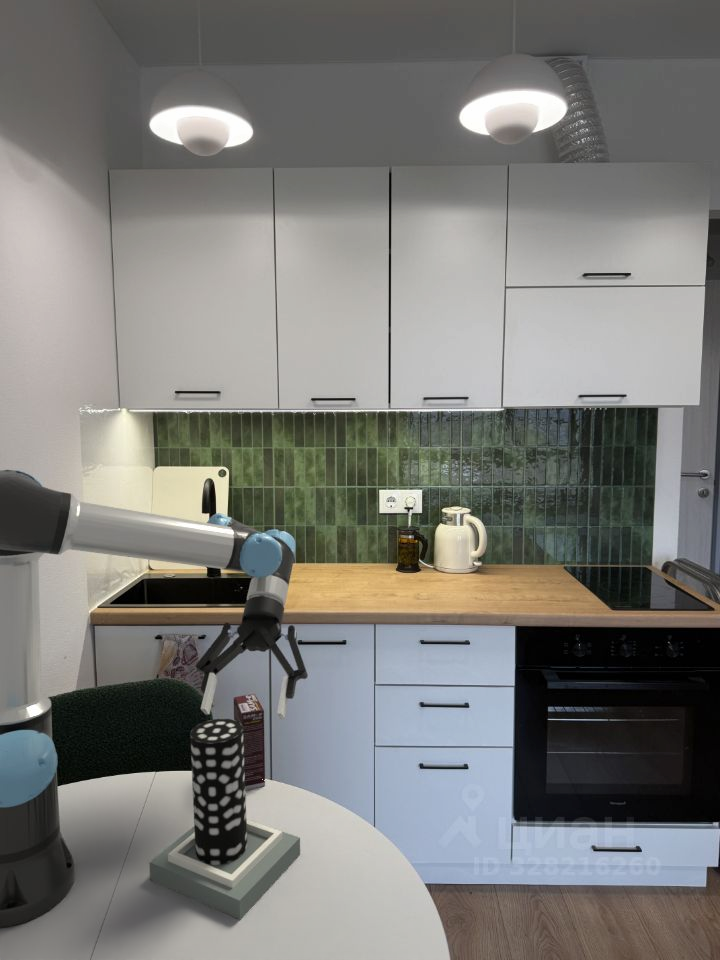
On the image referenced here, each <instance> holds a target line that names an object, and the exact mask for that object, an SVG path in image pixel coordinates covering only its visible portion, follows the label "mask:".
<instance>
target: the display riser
mask: <svg viewBox="0 0 720 960" xmlns="http://www.w3.org/2000/svg"><path fill="white" fill-rule="evenodd" d="M246 821H247V848H246V850H245V852H244V853H243V854H242V855H241V856H240V857H239V858H237V859H236V860H234V861H231V862H229V863H226V864H220V865H211V864H206V863H204V862H202V861H200V860H199V859H198V858H197V856H196V850H195V828H194V826H192V827H191V828H190V829H189V830H187V831H186V832H185V833H184V834H183V835H181V836H180V837H179V838H178V839H176V840H175V841H174V842H172V843H171V844H170V845H169V846H168V847H166V848H165V849H164V850H163V851H162V852H160V853H158V855H156V856H155V857H154V858H153V859H152V860H150V861H149V880H150V881H152V882H155V883H156V884H159V885H161V886H163V887H166V888H167V889H171V890H172V891H174V892H177V893H179V894H181V895H183V896H185V897H187V898H190V899H193V900H195V901H197V902H200V903H201V904H204V905H206V906H209V907H211V908H213V909H215V910H217V911H219V912H222V913H225V914H227V915H228V916H231V917H233V918H236V919H238V920H241V919H243V918H244V917H245V915H246V914H247V913H248V912H249V911H250V910H251V909H252V908H253V906H255V905H256V903H257V902H258V901H259V900H260V899H261V898H262V897H263V896H264V894H266V892H267V891H268V890H269V889H270V888H271V887H272V886H273V885H274V884H275V883H276V882H277V881H278V879H279V878H280V877H281V876H282V875H283V874H284V873H285V872H286V871H287V870H288V868H289V867H290V866H291V865H292V864H293V863H294V862H295V861H296V860H297V858H299V857H300V855H301V837H299V836H297V835H293V834H290V833H288V832H285V831H282V830H279V829H276V828H273V827H271V826H268V825H264V824H262V823H259V822H256V821H254V820H250V819H248V818H246Z"/></svg>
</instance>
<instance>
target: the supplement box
mask: <svg viewBox="0 0 720 960" xmlns="http://www.w3.org/2000/svg"><path fill="white" fill-rule="evenodd" d="M233 720H235V721H238V722H239V723H241V724H242V726H243V741H244V768H245V791H247V790H254V789H257V788H261V787H265V786H266V756H265V754H266V753H265V751H266V750H265V710H264V708H263V706H262V705H261V702H260V701H259V699H258V697H257V696H256V693H252V694H244V695H240V696H234V697H233ZM262 779H263V780H262ZM264 780H265V781H264Z"/></svg>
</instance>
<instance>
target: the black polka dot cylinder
mask: <svg viewBox="0 0 720 960" xmlns="http://www.w3.org/2000/svg"><path fill="white" fill-rule="evenodd" d="M190 730H191V731H190V734H189V736H190V756H191V757H190V758H191V761H190V763H191V778H192V779H191V781H192V801H193V803H192V806H193V823H194V825H193V827H194V828H195V850H196V856H197V858H198V859H199V860H200V861H202V862H204V863H206V864H211V865H220V864H226V863H229V862H231V861H234V860H236V859H237V858H239V857H240V856H241V855H242V854H243V853H244V852H245V850H246V848H247V821H246V819H247V798H246V796H247V795H246V790H245V768H244V741H243V726H242V724H241V723H239V722H238V721H235V720H234V719H231V718H216V719H211V720H205V721H204V722H203V721H202V722H201V723H199V724H197V725H196V726H194V727H193V728H192V729H190Z"/></svg>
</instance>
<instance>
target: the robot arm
mask: <svg viewBox="0 0 720 960" xmlns="http://www.w3.org/2000/svg"><path fill="white" fill-rule="evenodd" d="M68 550H70V551H71V550H72V551H79V552H86V553H88V552H89V553H95V554H101V555H110V556H118V557H126V558H135V559H143V560H148V561H149V560H150V561H157V562H158V561H159V562H166V563H174V564H180V565H188V566H195V567H197V566H198V567H206V568H213V569H220V570H221V569H222V570H224V571H225V570H226V571H232V572H237V573H238V572H239V573H245V574H246V575H248V576H250V577H251V580H250V582H249V588H248V592H247V596H246V601H245V605H244V607H243V608H244V609H243V613H242V617H241V623H240V624H239V626H235V625H231V624H230V623H229V622H225V623H224V624H223V627H222V629H221V632H220V634H219V635H218V636H217V637H216V639H215V640H213V643H212V644H211V645H210V646H209V648H208V649H207V650H206V652H205V653H204V654H203V655H202V656H201V658H200V659H199V660H198V661H197V663H196V665H195V667H196V669H197V670H198V672H199V673H200V674H202V675H203V678H202V683H201V686H200V691H201V693H202V694H203V698H202V702H201V706H200V710H201V711H202V712H203V714H204V715H211V708H212V705H213V700H214V698H215V697H214V696H215V692H216V688H217V683H218V677H217V674H218V673H220V672H222V670H223V669H225V667H227V665H229V664H230V663H231V662H232V661H233V660H234V659H236V658H237V657H238V656H239V655H240V654H243V653H245V652H246V651H247V650H248V651H249V652H256V651H259V652H262V653H263V652H265V653H266V652H267V651H268V650H270V651H271V653H272V654H273V655H274V657H275V658H276V660H277V661H278V663H279V665H280V666H281V667H282V668H283V670H284V672H285V673H286V675H285V676H283V677H282V683H281V688H280V694H279V700H278V705H277V706H278V707H277V712H276V714H277V716H278V718H279V719H281V720H285V719H286V718H285V717H286V713H287V706H288V701H289V700H290V699H291V700H292V699H294V696H295V693H296V687H297V686H296V685H297V682H298V681H299V680H306V679H308V675H309V674H308V672H307V669H306V665H305V664H304V660H303V658H302V654H301V651H300V648H299V645H298V644H297V643H298V642H297V635H298V633H297V631H296V628H295V626H294V625H292V624H291V625H288V627H286V628H285V627H284V628H282V625H283V618H284V614H285V606H286V601H287V596H288V592H289V585H290V580H291V575H292V569H293V566H294V562H295V559H296V558H295V557H296V556H295V554H296V540H295V538H294V537H293V536H292V535H291V534H290V533H288V532H286V531H285V530H281V531H280V530H279V529H268V530H266V531H264V532H262V531H259V530H257V529H254V528H253V527H250V526H248V525H246V524H243V523H241V522H239V521H238V520H236V519H234V518H233V517H231V516H227V515H225V514H223V513H215V514H213V515H212V516H210V518H209V519H208V521H206V522H203V521H195V520H190V519H186V518H180V517H179V518H177V517H173V516H167V515H162V514H161V515H160V514H156V513H155V514H154V513H150V512H149V513H148V512H144V511H139V510H133V509H126V508H121V507H120V508H119V507H113V506H108V505H107V506H106V505H101V504H94V503H90V502H83V501H79V500H78V498H76V497H75V495H74V494H73V493H70V492H63V491H59V490H55V489H51V488H48V487H45V486H43V485H42V484H41V482H40V481H39V480H38V479H37V478H35V477H34V476H33V475H31V474H29V473H26V472H25V471H21V470H14V469H12V470H11V469H4V470H0V928H6V927H7V928H8V927H11V926H12V927H13V926H16V925H21V924H22V923H25V922H28V921H31V920H34V919H36V918H37V917H39V916H41V915H43V914H45V913H47V912H49V911H50V910H51V909H53V908H55V906H57V905H58V904H59V903H60V902H61V901H62V900H63V899H64V898H66V896H67V895H68V893H69V892H70V890H71V889H72V887H73V885H74V882H75V877H76V873H75V861H74V858H73V856H72V854H71V852H70V851H71V850H70V849H69V847H68V845H67V843H66V840H65V839H64V837H63V835H62V832H61V827H60V826H61V825H60V806H59V788H58V773H57V772H58V769H57V767H58V754H57V751H56V747H55V744H54V741H53V727H52V725H53V723H52V700H51V699H50V698H49V697H47V696H46V695H44V694H43V693H42V663H41V662H42V661H41V660H42V659H41V656H42V655H41V615H40V614H41V613H40V609H41V608H40V605H41V604H40V573H39V572H40V568H39V567H40V566H39V564H40V562H39V560H40V558H41V557H42V556H43V555H44V554H49V555H51V554H52V555H58V556H59V555H60V556H61V555H62V554H63V553H65V552H67V551H68ZM235 635H238V636H237V638H236V639H234V640H233V642H232V644H231V645H230V646H228V647H227V648H226V646H227V645H228V644H229V642H230V641H231V639H233V638H235V637H234V636H235ZM281 637H284V639H285V640H286V641H287V642H288V644H289V647H290V650H291V652H292V655H293V659H294V661H295V665H296V667H297V669H295V670H294V669H293V667H292V666H291V664H290V663H289V661H288V659H287V658H286V657H285V655H284V654H283V652H282V651H281V648H280V647H279V646H278V644H277V642H278V641H279V640H280V639H281ZM225 648H226V649H225ZM224 649H225V650H224ZM223 650H224V651H223Z"/></svg>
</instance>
